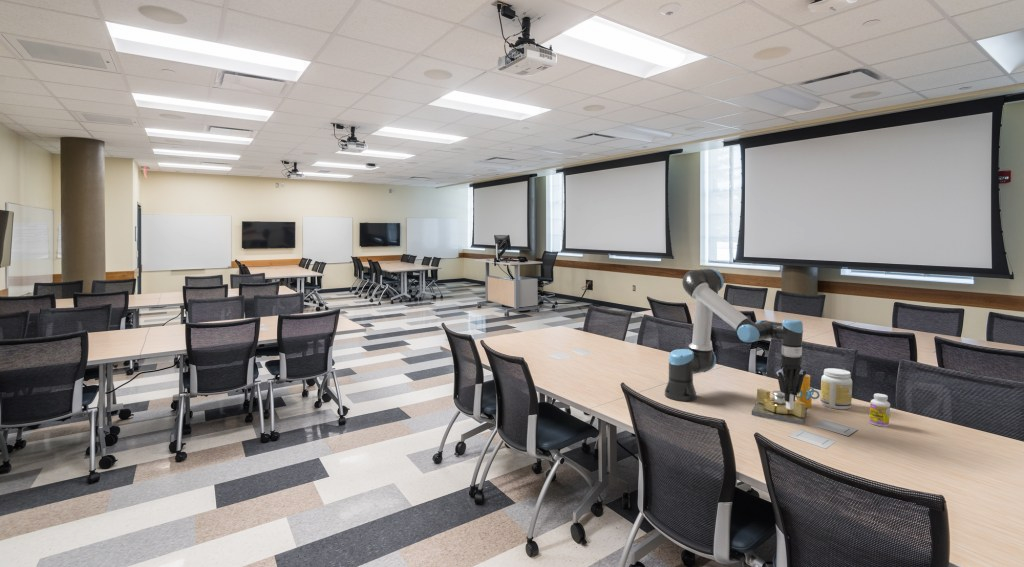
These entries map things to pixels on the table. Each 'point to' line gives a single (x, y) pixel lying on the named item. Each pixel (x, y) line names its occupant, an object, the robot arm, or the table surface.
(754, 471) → the table surface
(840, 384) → the supplement tub
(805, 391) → the cylinder
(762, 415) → the flange plate
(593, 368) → the table surface
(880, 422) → the supplement bottle
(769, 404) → the tan handled ring
